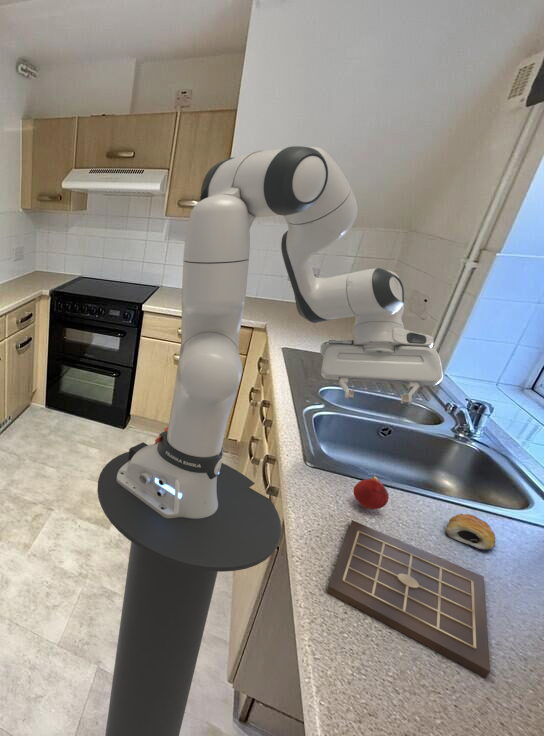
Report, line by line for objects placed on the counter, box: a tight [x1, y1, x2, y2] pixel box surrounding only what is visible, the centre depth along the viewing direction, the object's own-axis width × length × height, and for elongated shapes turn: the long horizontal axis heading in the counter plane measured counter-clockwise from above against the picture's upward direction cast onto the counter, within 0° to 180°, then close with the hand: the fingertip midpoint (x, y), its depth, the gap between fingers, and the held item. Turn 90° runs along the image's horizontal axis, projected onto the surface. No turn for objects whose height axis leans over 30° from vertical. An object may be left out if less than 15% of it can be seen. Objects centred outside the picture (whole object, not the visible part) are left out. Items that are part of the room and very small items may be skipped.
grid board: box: [326, 519, 491, 679], centre depth 71 cm, size 19×22×2 cm
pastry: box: [445, 513, 497, 551], centre depth 83 cm, size 9×7×4 cm
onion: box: [353, 475, 390, 510], centre depth 89 cm, size 6×6×8 cm
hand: (376, 401), depth 89 cm, fingers open, 8 cm apart
